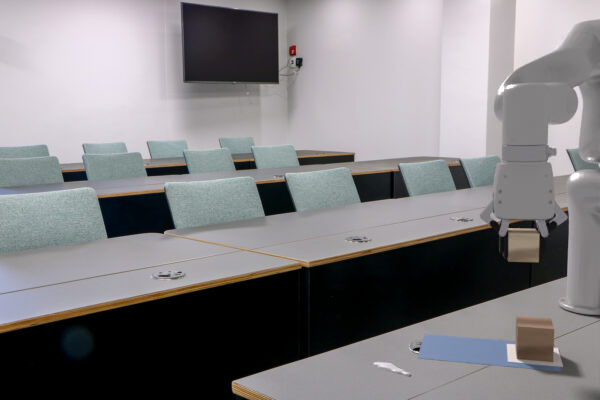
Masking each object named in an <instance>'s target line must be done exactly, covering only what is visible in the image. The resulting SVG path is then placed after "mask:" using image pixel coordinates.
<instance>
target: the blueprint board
mask: <svg viewBox="0 0 600 400" xmlns="http://www.w3.org/2000/svg"><path fill="white" fill-rule="evenodd" d="M515 342H516V340H515V341H514V340H505V339H503V340H502V339H491V338H490V339H489V338H478V337H467V336H456V335H455V336H452V335H442V334H441V335H439V334H431V333H430V334H429V333H427V334H426V333H424V336H423V338H422V343H421V345H420V348H419V352H418V355H417V359H421V360H431V361H443V362H452V363H455V362H456V363H462V364H463V363H465V364H473V365H474V364H475V365H485V366H497V367H509V368H516V369H517V368H518V369H529V370H541V371H552V372H562V368H564V365H563V361H562V358H561V354H560V352H559V348H558V347H555V346H554V354H553V362H545V361H533V360H521V359H517V356H516V348H515Z"/></svg>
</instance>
